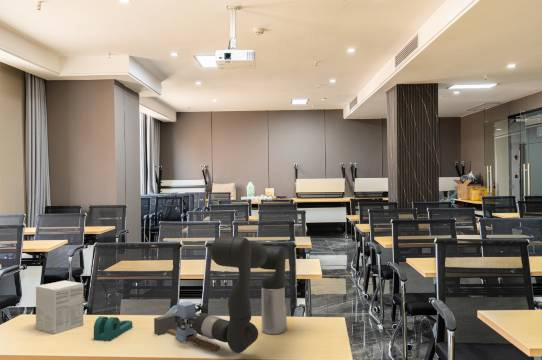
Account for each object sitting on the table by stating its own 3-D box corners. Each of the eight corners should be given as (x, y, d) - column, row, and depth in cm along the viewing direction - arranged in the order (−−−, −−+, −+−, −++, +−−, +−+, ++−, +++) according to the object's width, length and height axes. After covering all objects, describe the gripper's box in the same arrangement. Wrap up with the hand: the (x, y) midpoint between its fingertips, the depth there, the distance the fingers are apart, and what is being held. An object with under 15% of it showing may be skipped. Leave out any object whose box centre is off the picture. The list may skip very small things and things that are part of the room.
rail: (172, 331, 164) (172, 328, 164) (220, 349, 144) (220, 346, 144) (166, 332, 162) (166, 329, 162) (215, 351, 143) (215, 348, 143)
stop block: (175, 327, 169) (175, 312, 169) (180, 328, 167) (180, 313, 167) (154, 333, 161) (154, 318, 161) (158, 335, 159) (158, 319, 159)
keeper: (188, 334, 160) (188, 300, 160) (196, 337, 156) (196, 303, 157) (175, 338, 155) (175, 304, 155) (183, 342, 152) (183, 306, 152)
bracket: (109, 341, 154) (109, 320, 154) (93, 340, 155) (93, 319, 155) (135, 326, 171) (135, 307, 171) (120, 325, 173) (120, 306, 173)
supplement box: (84, 325, 173) (84, 283, 173) (54, 334, 161) (54, 289, 162) (65, 320, 180) (65, 279, 180) (34, 329, 168) (35, 285, 169)
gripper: (225, 311, 152) (196, 303, 163) (194, 320, 141) (165, 311, 153) (225, 331, 152) (196, 322, 163) (194, 342, 141) (165, 331, 152)
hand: (181, 317), depth 158 cm, fingers closed on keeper, 5 cm apart
